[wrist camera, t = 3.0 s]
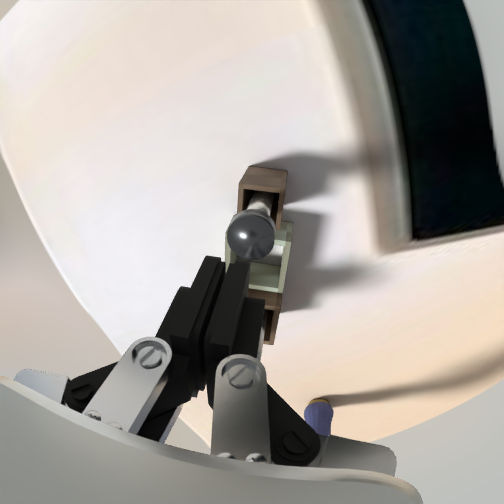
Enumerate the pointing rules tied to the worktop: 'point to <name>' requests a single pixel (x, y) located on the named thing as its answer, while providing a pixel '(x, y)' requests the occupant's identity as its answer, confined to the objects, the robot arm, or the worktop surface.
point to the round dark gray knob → (253, 228)
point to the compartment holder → (271, 276)
